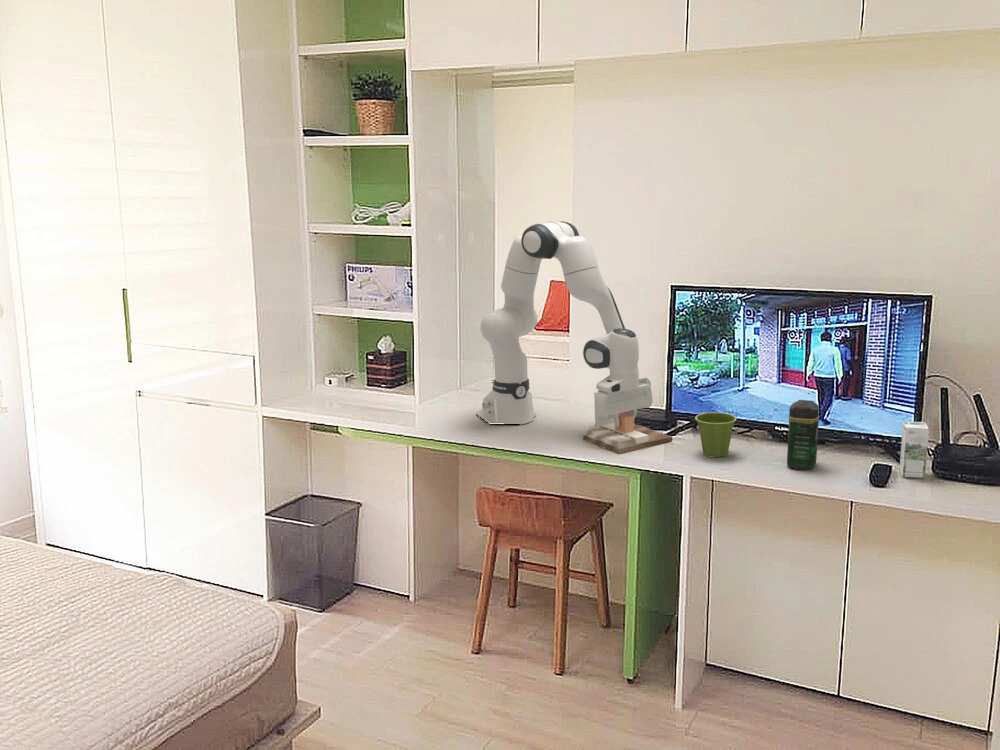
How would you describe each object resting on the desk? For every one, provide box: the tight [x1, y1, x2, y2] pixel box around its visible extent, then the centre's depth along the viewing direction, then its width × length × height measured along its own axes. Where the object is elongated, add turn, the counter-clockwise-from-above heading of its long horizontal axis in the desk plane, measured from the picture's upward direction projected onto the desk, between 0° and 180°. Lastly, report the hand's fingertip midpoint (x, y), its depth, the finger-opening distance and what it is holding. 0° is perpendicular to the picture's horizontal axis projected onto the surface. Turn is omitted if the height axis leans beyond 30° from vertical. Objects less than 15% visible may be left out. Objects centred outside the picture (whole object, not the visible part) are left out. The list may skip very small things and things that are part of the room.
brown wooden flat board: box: [582, 423, 673, 455], centre depth 293 cm, size 18×21×4 cm
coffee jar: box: [786, 399, 820, 471], centre depth 263 cm, size 10×8×19 cm
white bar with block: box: [602, 412, 648, 444], centre depth 292 cm, size 17×5×7 cm, turn 31°
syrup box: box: [899, 421, 930, 479], centre depth 253 cm, size 6×6×14 cm
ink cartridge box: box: [593, 390, 614, 427], centre depth 310 cm, size 9×5×15 cm, turn 143°
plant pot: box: [694, 411, 738, 458], centre depth 276 cm, size 12×12×11 cm
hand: (624, 425), depth 292 cm, fingers closed on white bar with block, 3 cm apart
